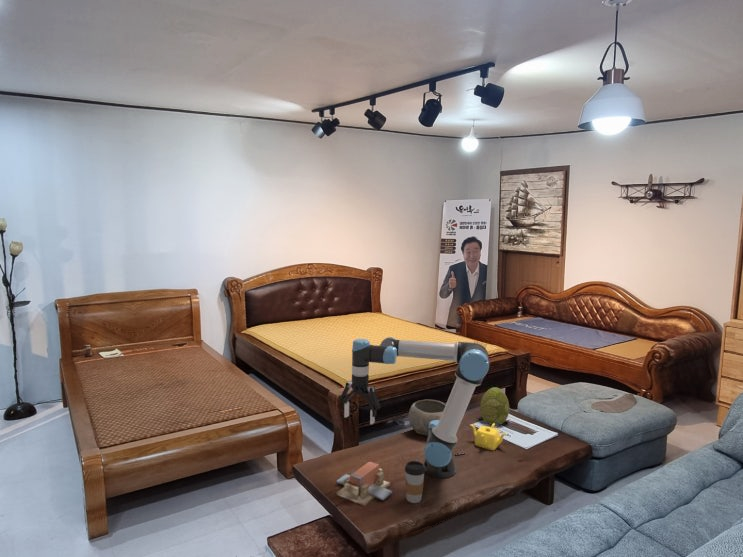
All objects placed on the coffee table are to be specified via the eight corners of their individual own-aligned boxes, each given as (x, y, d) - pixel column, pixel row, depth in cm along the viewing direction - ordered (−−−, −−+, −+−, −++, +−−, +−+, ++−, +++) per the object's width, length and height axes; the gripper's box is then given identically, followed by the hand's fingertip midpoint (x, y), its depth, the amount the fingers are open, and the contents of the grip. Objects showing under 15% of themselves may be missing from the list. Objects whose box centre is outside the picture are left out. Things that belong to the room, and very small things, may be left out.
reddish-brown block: (378, 479, 227) (379, 464, 226) (359, 495, 214) (359, 479, 213) (369, 476, 229) (369, 461, 228) (349, 491, 217) (349, 475, 216)
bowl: (405, 438, 273) (406, 411, 271) (409, 421, 295) (410, 395, 293) (450, 442, 269) (451, 415, 267) (450, 424, 292) (452, 399, 290)
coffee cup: (402, 493, 219) (403, 460, 217) (421, 493, 220) (423, 460, 218) (405, 505, 211) (406, 470, 209) (425, 504, 212) (426, 470, 210)
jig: (399, 488, 224) (400, 475, 223) (374, 509, 207) (375, 495, 206) (354, 471, 237) (354, 459, 236) (327, 491, 220) (327, 477, 219)
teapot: (506, 450, 262) (507, 432, 261) (480, 452, 259) (481, 434, 258) (493, 437, 276) (494, 420, 275) (468, 440, 273) (469, 422, 272)
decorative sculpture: (506, 428, 288) (508, 394, 285) (477, 423, 294) (479, 390, 291) (509, 418, 303) (512, 385, 301) (481, 413, 309) (483, 381, 306)
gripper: (389, 377, 226) (387, 423, 229) (341, 367, 238) (340, 411, 241) (380, 381, 219) (379, 429, 222) (332, 371, 232) (331, 416, 235)
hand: (359, 419), depth 232 cm, fingers open, 13 cm apart
